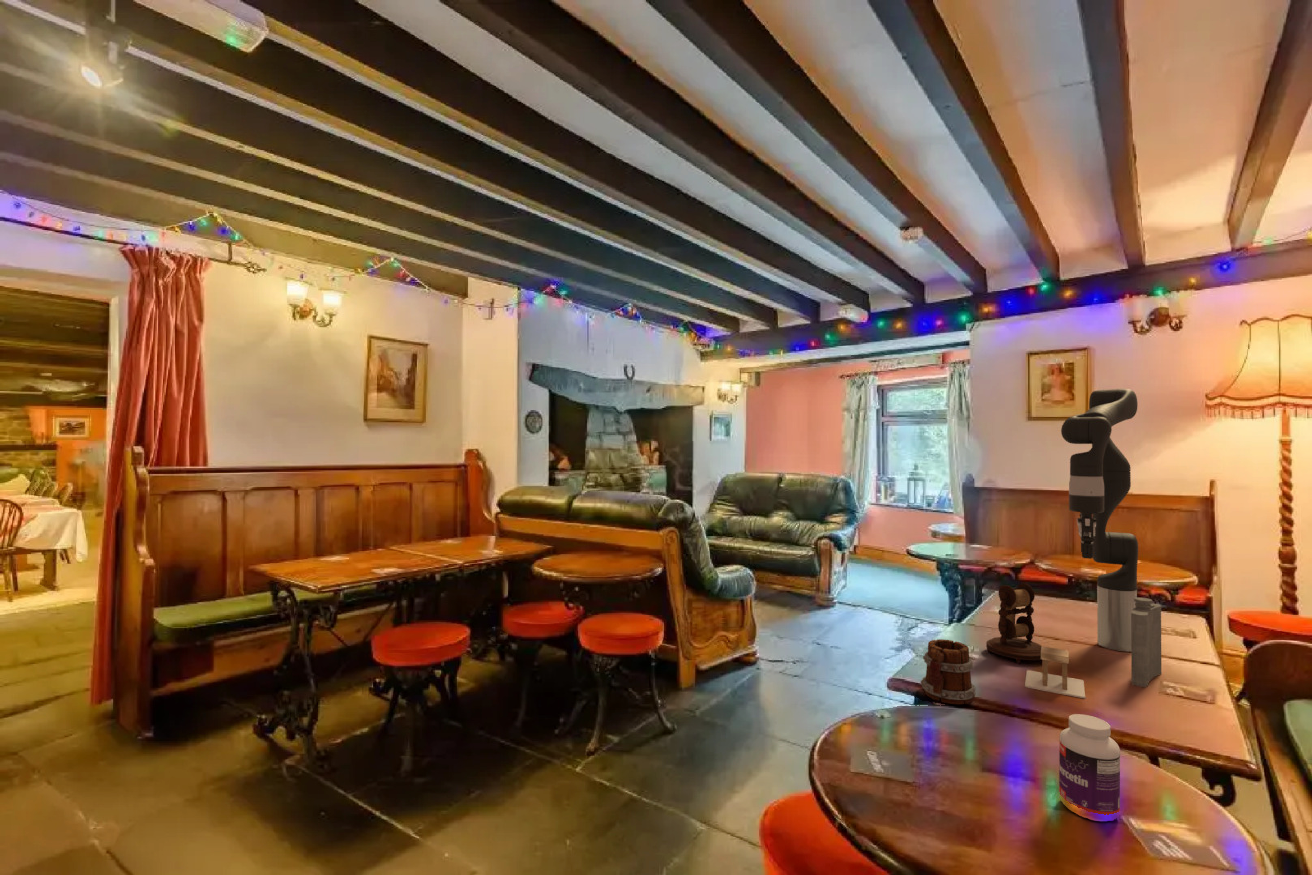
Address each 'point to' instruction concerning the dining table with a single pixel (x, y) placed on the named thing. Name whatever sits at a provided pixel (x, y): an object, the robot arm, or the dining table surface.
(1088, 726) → the pill bottle
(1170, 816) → the dining table surface
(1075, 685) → the mat
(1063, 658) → the stool
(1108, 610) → the robot arm
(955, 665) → the mug
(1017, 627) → the scroll
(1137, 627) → the hip flask
